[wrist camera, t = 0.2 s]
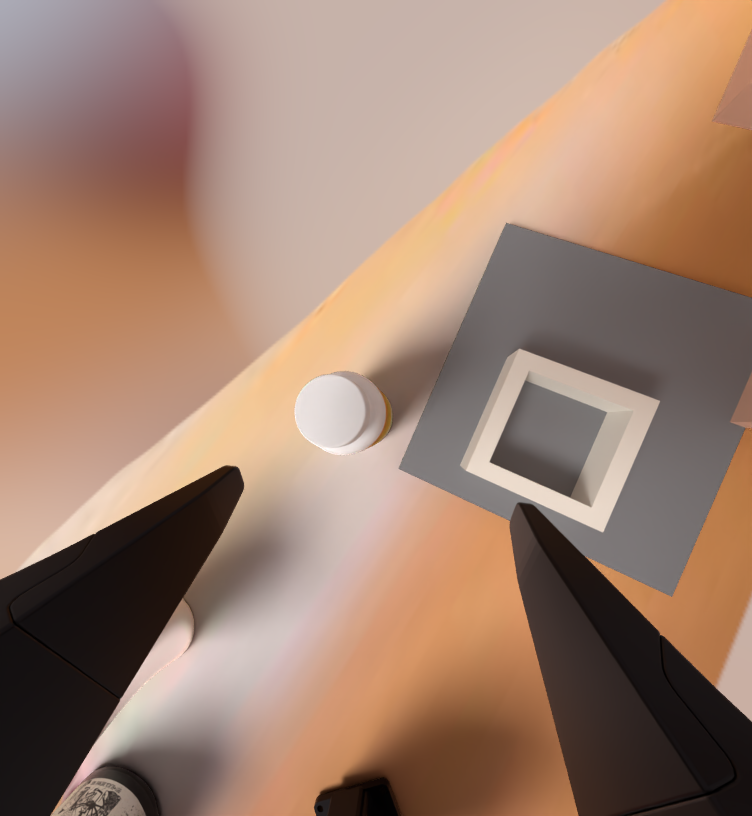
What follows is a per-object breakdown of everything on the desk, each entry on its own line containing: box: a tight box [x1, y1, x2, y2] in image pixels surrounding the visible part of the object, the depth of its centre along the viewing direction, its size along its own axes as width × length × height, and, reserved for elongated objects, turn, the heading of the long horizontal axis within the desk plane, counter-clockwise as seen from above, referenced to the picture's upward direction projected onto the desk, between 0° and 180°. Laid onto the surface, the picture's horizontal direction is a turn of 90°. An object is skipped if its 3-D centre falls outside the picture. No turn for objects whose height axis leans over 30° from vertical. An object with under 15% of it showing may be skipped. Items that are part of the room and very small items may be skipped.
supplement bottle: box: [295, 371, 393, 455], centre depth 19 cm, size 5×5×10 cm
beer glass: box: [92, 599, 194, 747], centre depth 18 cm, size 7×7×15 cm
